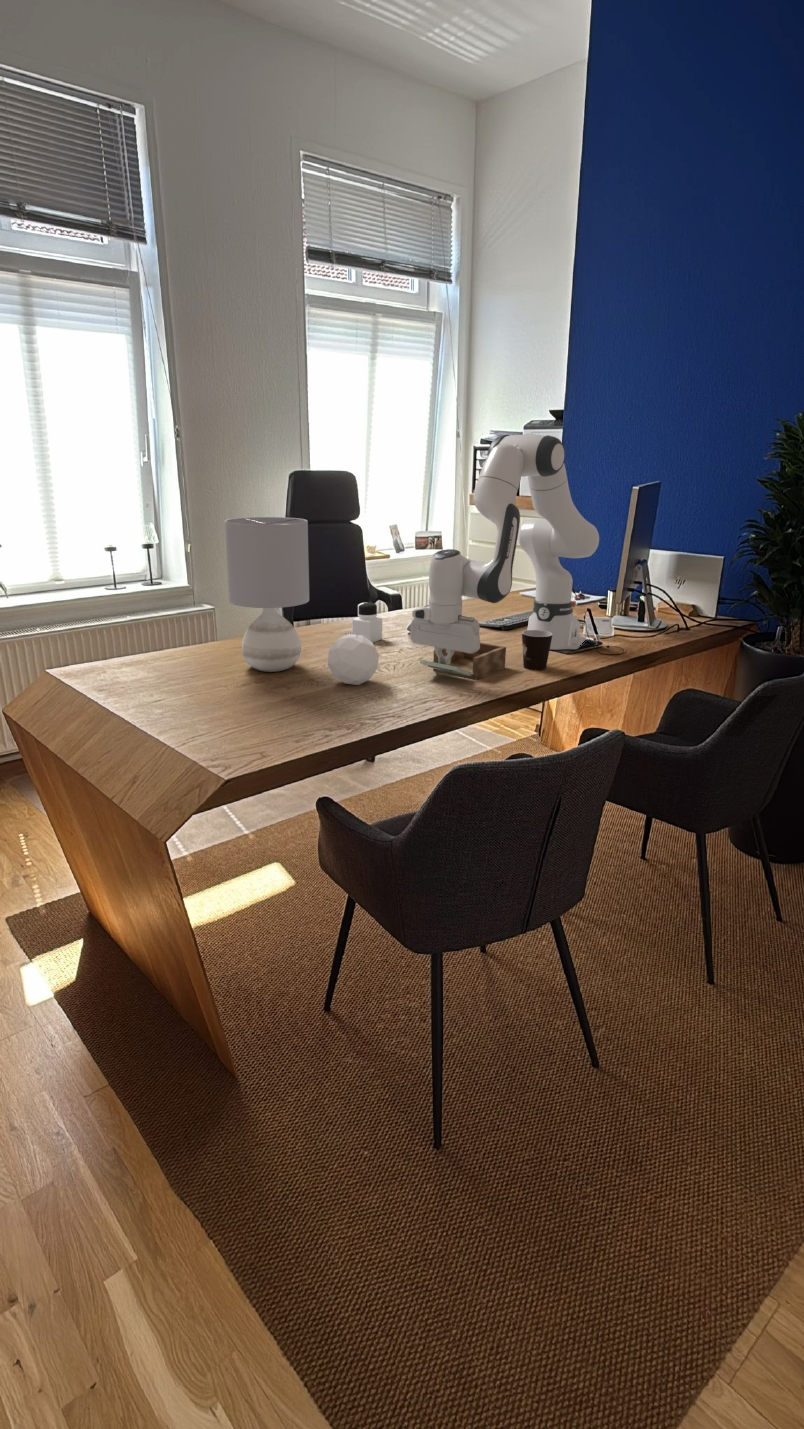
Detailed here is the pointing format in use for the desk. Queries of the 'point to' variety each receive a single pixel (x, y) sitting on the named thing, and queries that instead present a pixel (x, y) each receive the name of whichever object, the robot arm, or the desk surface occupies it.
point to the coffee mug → (536, 649)
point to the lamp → (268, 584)
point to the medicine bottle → (368, 622)
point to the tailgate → (445, 667)
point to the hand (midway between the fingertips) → (444, 663)
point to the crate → (477, 661)
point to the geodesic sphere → (353, 659)
